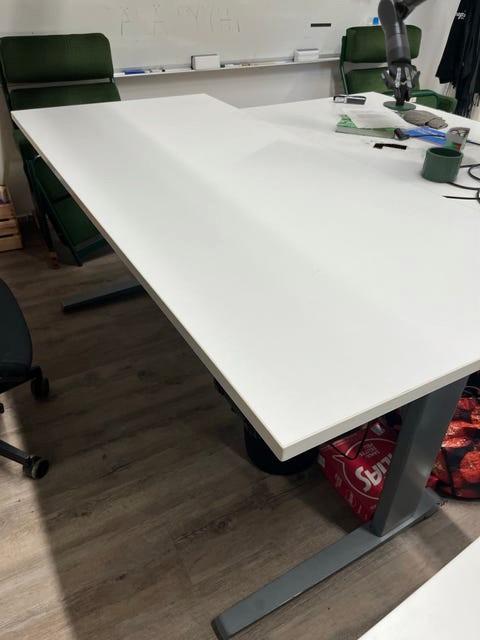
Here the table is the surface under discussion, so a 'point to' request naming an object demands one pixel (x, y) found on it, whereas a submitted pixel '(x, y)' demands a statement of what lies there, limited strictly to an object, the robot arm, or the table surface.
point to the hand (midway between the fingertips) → (403, 99)
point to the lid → (400, 101)
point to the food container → (457, 138)
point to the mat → (397, 146)
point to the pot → (441, 164)
